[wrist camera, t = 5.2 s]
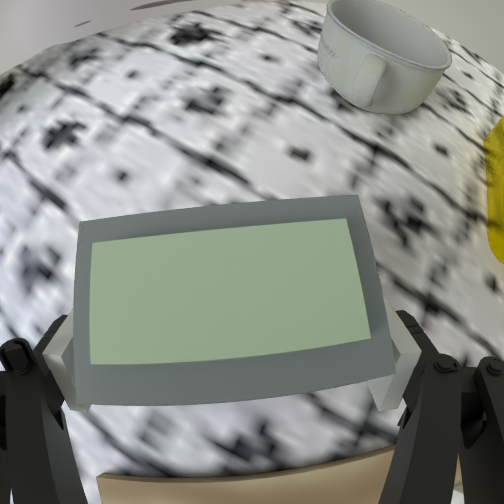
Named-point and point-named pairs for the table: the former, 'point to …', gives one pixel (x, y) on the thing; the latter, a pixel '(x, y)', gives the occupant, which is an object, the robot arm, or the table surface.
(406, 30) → the teacup
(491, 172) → the element tile
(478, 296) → the table surface
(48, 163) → the table surface
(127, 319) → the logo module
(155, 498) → the rail plate
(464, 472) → the robot arm
